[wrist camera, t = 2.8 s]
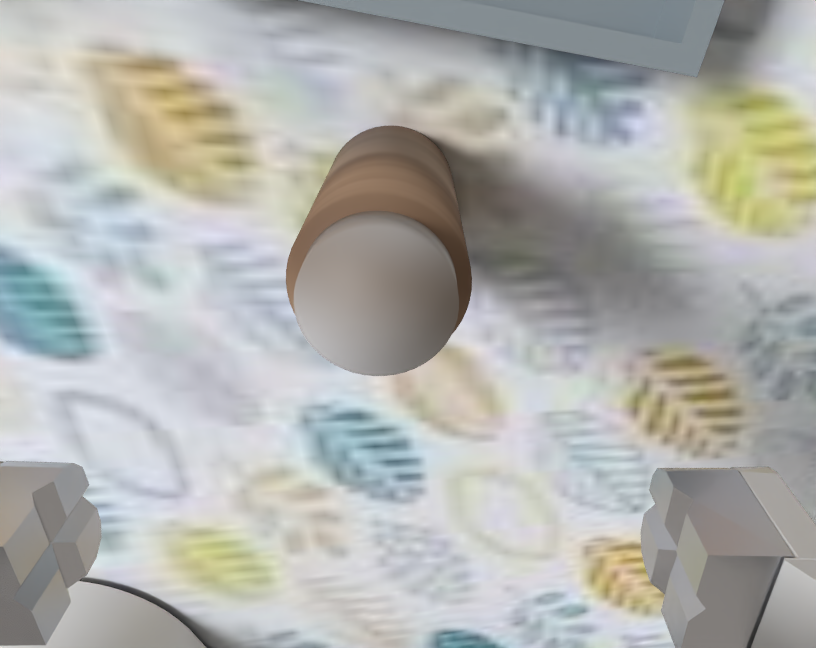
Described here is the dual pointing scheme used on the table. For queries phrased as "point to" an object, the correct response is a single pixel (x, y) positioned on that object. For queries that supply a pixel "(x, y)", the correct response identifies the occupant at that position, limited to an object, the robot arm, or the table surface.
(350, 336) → the shaker
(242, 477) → the table surface
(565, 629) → the table surface
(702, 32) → the tray
